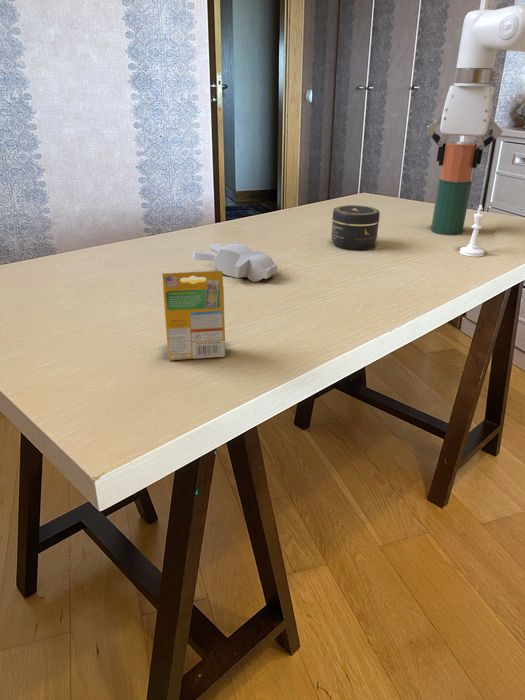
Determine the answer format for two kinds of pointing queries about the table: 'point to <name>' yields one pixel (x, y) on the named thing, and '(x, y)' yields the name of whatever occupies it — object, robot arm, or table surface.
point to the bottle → (450, 207)
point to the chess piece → (474, 237)
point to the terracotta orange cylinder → (458, 161)
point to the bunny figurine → (239, 261)
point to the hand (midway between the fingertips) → (457, 165)
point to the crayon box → (194, 315)
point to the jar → (355, 227)
